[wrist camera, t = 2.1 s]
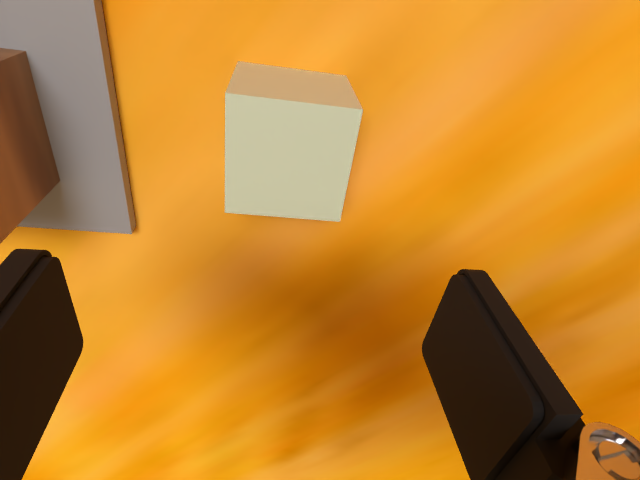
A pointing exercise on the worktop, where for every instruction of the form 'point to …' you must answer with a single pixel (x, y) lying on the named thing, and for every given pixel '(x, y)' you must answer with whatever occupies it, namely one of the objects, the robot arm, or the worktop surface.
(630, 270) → the worktop surface
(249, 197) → the cream cube
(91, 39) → the build pad
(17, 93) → the walnut block
